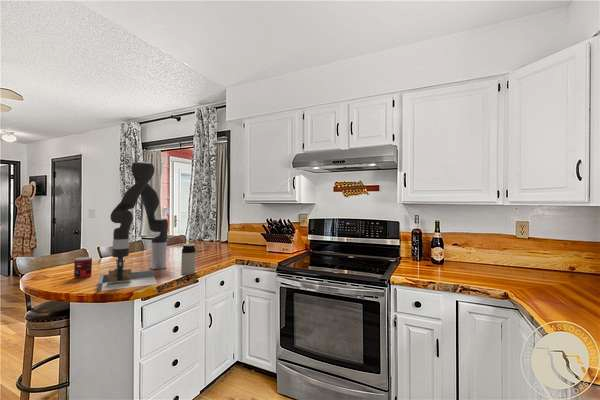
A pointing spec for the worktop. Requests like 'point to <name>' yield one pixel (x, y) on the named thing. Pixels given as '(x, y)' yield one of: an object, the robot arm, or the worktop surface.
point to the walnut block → (113, 275)
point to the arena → (136, 280)
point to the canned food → (82, 267)
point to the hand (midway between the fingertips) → (119, 279)
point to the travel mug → (188, 259)
